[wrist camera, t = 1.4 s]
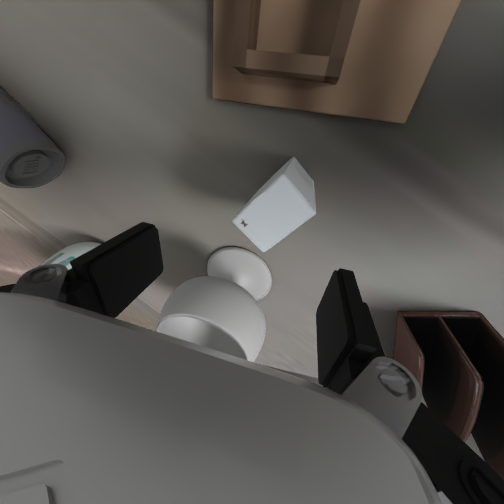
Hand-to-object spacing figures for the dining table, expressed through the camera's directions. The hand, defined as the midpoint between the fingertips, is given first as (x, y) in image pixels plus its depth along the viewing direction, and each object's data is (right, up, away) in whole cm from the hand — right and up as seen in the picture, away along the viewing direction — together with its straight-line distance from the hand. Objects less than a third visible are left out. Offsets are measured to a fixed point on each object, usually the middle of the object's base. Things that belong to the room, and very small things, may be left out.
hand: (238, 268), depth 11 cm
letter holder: (+31, -16, +24) cm, 42 cm away
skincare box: (+5, +10, +16) cm, 19 cm away
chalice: (-2, -3, +26) cm, 26 cm away
